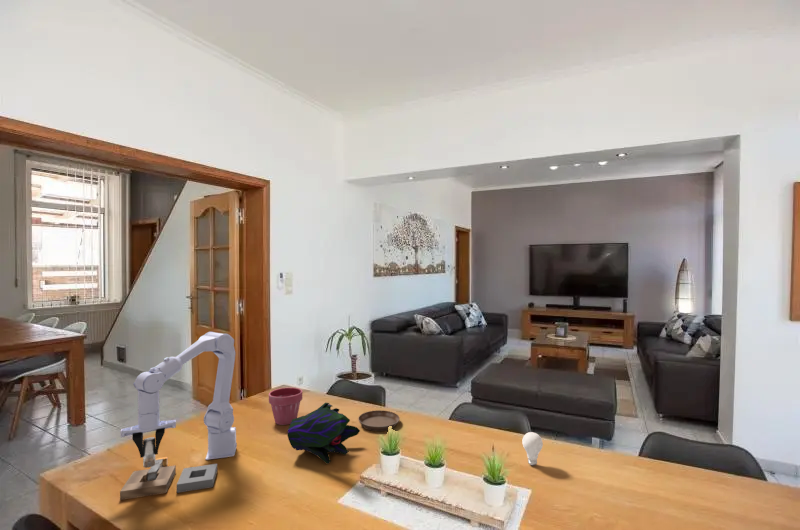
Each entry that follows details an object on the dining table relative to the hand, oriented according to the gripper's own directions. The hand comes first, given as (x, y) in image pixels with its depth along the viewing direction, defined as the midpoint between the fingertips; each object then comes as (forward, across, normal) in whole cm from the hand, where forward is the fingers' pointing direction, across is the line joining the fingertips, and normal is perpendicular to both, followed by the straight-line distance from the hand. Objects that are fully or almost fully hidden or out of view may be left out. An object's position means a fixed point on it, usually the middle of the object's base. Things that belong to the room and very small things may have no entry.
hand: (149, 454), depth 125 cm
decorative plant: (+10, -56, +8) cm, 57 cm away
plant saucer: (+10, -83, -7) cm, 84 cm away
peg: (+3, 0, 0) cm, 3 cm away
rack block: (+10, -13, +5) cm, 17 cm away
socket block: (+10, 0, 0) cm, 10 cm away
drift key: (+10, -2, -7) cm, 12 cm away
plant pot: (+10, -49, -31) cm, 59 cm away
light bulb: (+10, -113, +50) cm, 124 cm away
